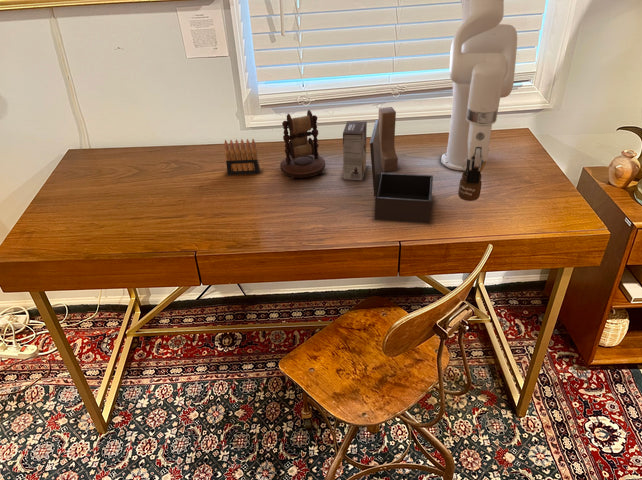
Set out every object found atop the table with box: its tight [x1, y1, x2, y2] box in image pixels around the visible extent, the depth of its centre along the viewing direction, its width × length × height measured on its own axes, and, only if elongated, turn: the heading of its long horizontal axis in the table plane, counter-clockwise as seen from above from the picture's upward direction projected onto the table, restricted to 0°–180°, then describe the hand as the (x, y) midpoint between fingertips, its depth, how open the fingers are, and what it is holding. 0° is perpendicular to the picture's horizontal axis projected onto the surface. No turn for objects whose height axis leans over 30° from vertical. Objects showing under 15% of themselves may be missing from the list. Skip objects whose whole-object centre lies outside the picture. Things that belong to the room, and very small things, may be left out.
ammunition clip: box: [224, 138, 261, 176], centre depth 177 cm, size 11×2×12 cm, turn 90°
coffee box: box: [342, 120, 368, 181], centre depth 172 cm, size 9×6×16 cm
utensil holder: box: [457, 158, 488, 202], centre depth 150 cm, size 6×6×12 cm
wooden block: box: [377, 106, 399, 172], centre depth 175 cm, size 9×4×18 cm, turn 10°
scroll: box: [279, 109, 326, 181], centre depth 174 cm, size 15×15×20 cm
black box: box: [374, 172, 434, 224], centre depth 158 cm, size 15×14×7 cm
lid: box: [369, 119, 383, 198], centre depth 152 cm, size 16×14×1 cm
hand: (472, 176), depth 150 cm, fingers closed on utensil holder, 5 cm apart
